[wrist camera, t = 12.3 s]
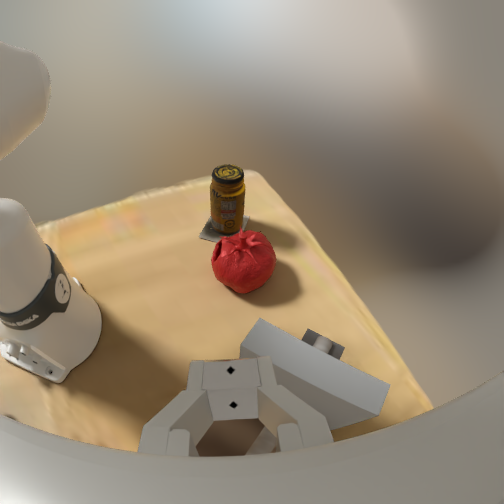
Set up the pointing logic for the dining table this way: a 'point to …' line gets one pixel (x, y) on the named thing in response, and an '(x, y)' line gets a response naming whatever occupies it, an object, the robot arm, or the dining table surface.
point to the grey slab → (317, 376)
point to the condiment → (226, 203)
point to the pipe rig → (253, 420)
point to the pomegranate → (243, 261)
